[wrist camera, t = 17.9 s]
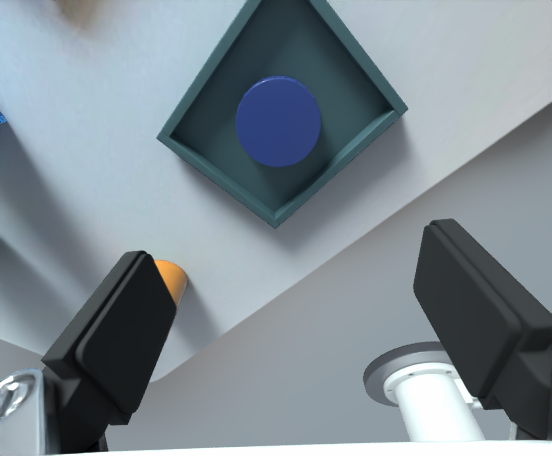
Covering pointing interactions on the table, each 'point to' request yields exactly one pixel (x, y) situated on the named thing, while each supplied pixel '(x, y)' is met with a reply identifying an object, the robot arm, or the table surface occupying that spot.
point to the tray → (296, 64)
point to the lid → (278, 121)
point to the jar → (173, 280)
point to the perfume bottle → (2, 119)
